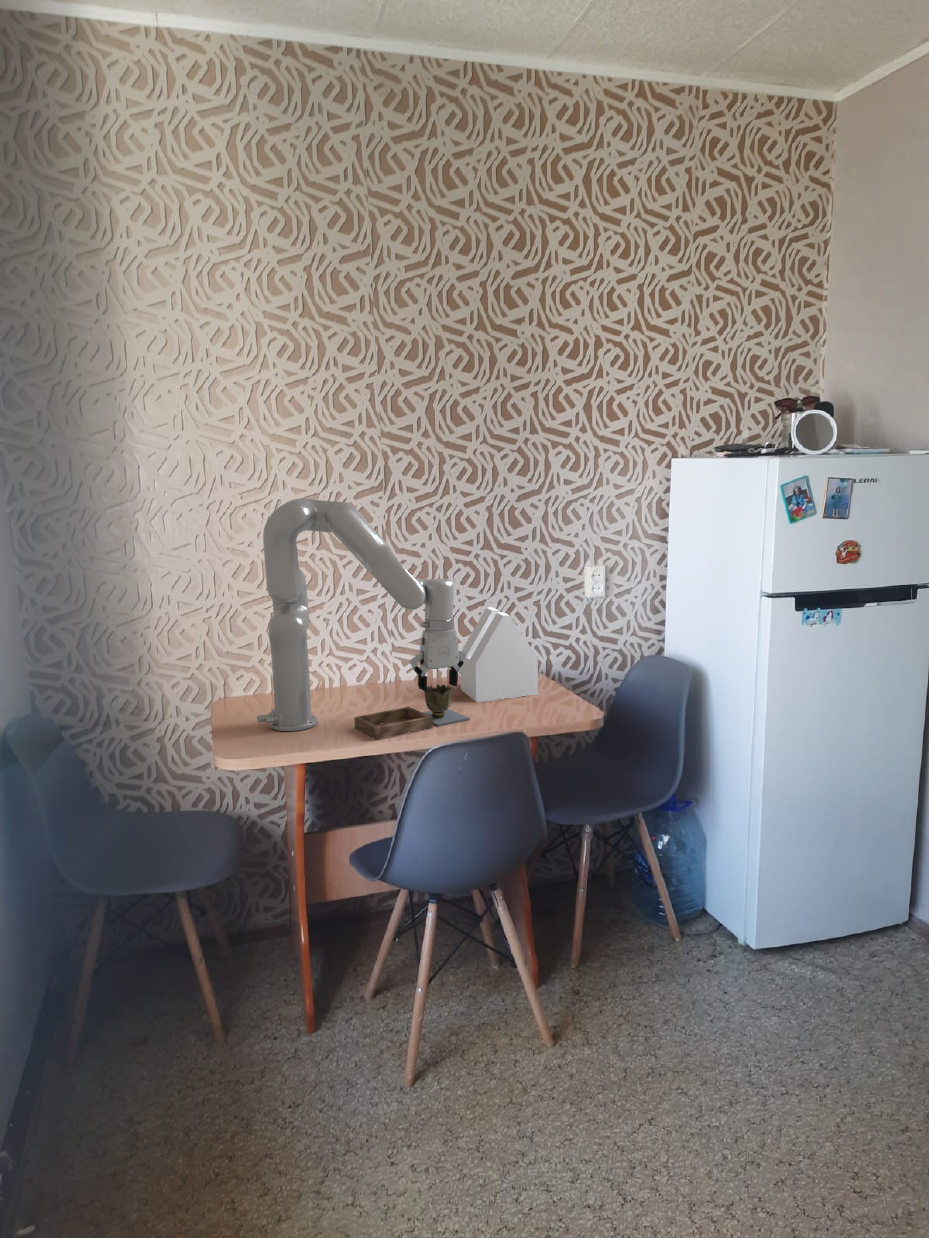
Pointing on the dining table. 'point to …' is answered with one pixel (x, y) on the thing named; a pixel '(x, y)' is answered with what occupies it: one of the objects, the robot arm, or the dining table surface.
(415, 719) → the frame
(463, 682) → the grey slotted house block
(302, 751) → the dining table surface
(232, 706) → the dining table surface
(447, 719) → the mat
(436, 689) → the cup
